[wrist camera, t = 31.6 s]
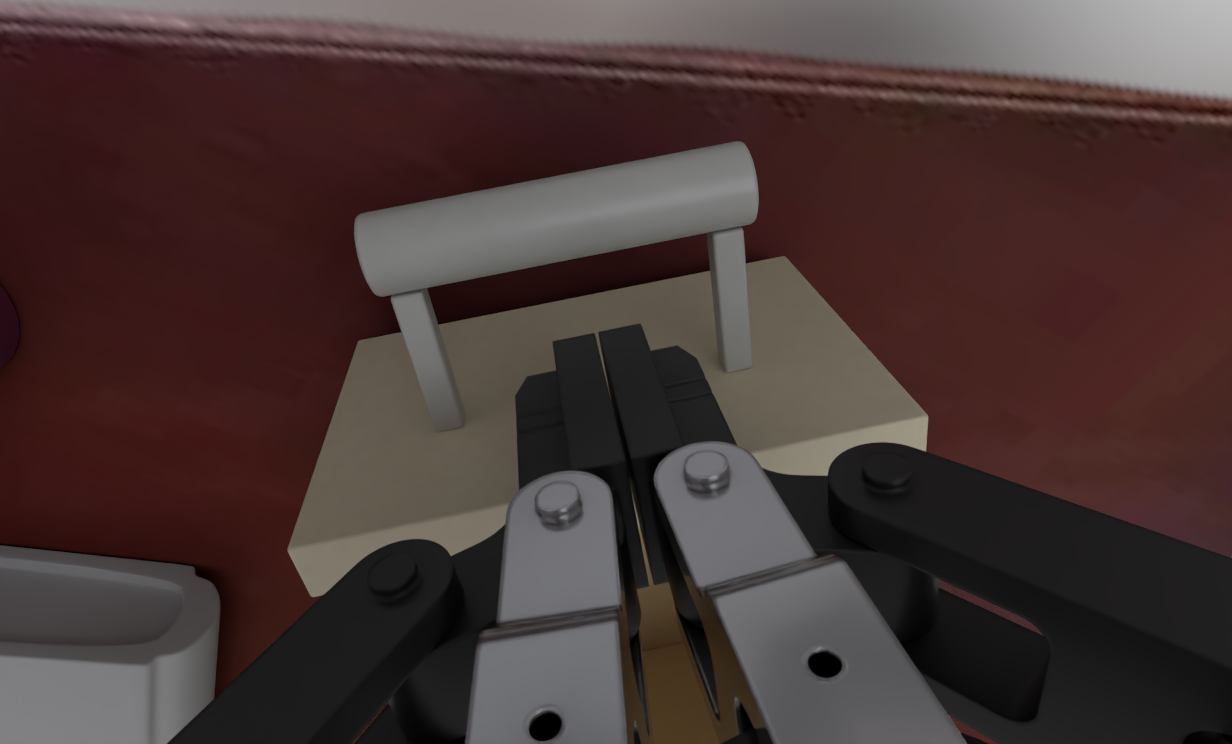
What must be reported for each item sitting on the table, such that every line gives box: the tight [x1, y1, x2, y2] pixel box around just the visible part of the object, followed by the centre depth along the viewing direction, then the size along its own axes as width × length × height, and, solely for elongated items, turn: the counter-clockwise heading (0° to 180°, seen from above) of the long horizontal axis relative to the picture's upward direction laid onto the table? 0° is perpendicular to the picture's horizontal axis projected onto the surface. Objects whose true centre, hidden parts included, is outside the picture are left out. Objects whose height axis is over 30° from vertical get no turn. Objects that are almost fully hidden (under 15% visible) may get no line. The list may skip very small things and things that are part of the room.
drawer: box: [287, 141, 928, 744], centre depth 19 cm, size 18×11×8 cm, turn 9°
